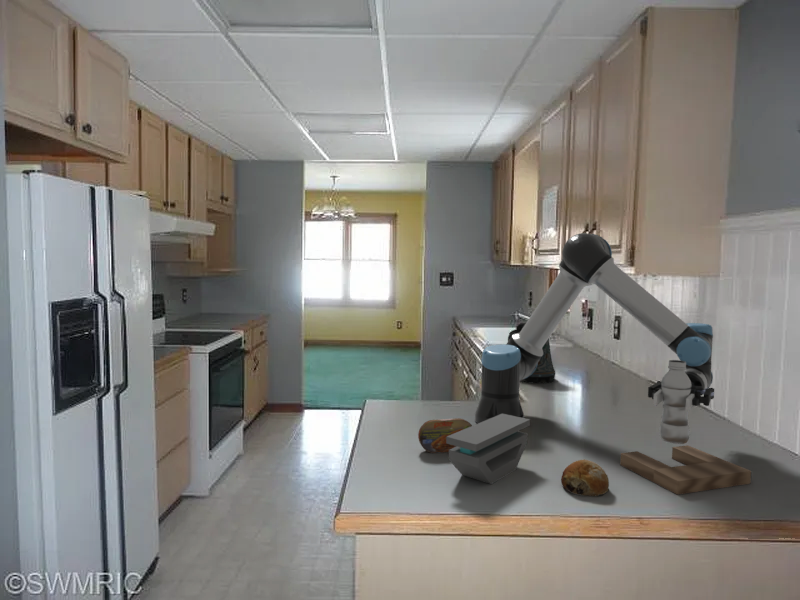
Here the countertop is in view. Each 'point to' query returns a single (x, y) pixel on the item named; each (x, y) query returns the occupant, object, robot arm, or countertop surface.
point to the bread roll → (585, 478)
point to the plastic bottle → (675, 404)
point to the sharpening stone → (489, 447)
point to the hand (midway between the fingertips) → (671, 402)
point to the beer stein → (539, 362)
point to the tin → (440, 433)
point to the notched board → (687, 470)
